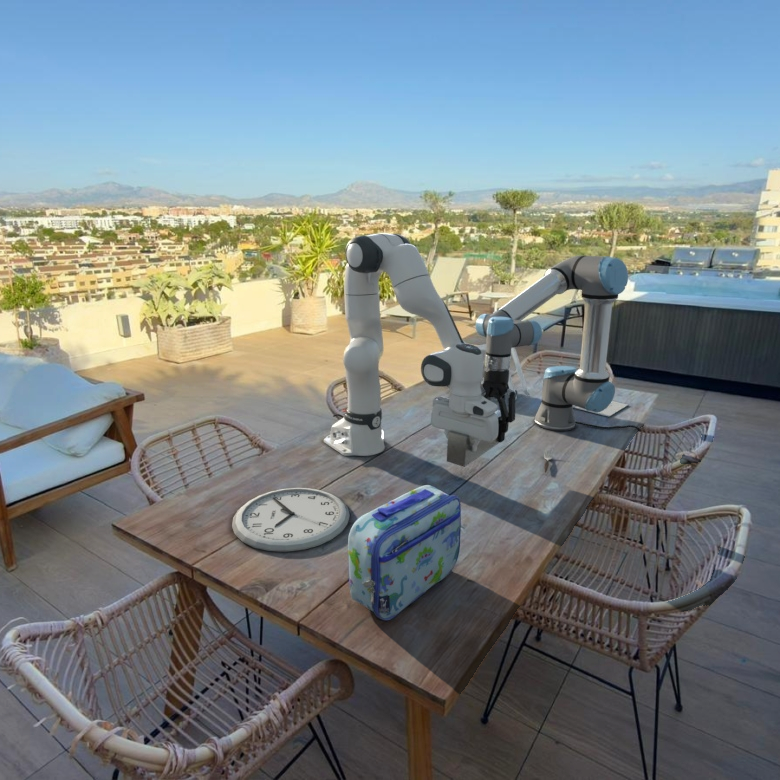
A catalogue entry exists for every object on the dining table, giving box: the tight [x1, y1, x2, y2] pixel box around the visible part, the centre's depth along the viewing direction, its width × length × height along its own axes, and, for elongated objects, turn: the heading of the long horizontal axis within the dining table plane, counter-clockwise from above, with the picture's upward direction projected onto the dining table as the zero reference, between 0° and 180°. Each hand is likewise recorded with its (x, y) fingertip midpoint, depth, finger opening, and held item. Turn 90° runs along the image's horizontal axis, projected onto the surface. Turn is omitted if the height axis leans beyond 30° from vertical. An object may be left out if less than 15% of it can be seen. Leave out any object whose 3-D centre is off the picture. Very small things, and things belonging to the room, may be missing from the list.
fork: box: [543, 448, 554, 473], centre depth 170 cm, size 3×16×2 cm, turn 160°
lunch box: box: [347, 484, 462, 621], centre depth 107 cm, size 26×11×21 cm, turn 134°
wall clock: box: [231, 487, 351, 553], centre depth 136 cm, size 30×2×30 cm
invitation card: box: [573, 400, 629, 418], centre depth 226 cm, size 21×1×15 cm
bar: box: [446, 409, 502, 468], centre depth 158 cm, size 26×6×9 cm, turn 143°
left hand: (462, 447), depth 150 cm, fingers closed on bar, 6 cm apart
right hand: (491, 438), depth 166 cm, fingers open, 6 cm apart
